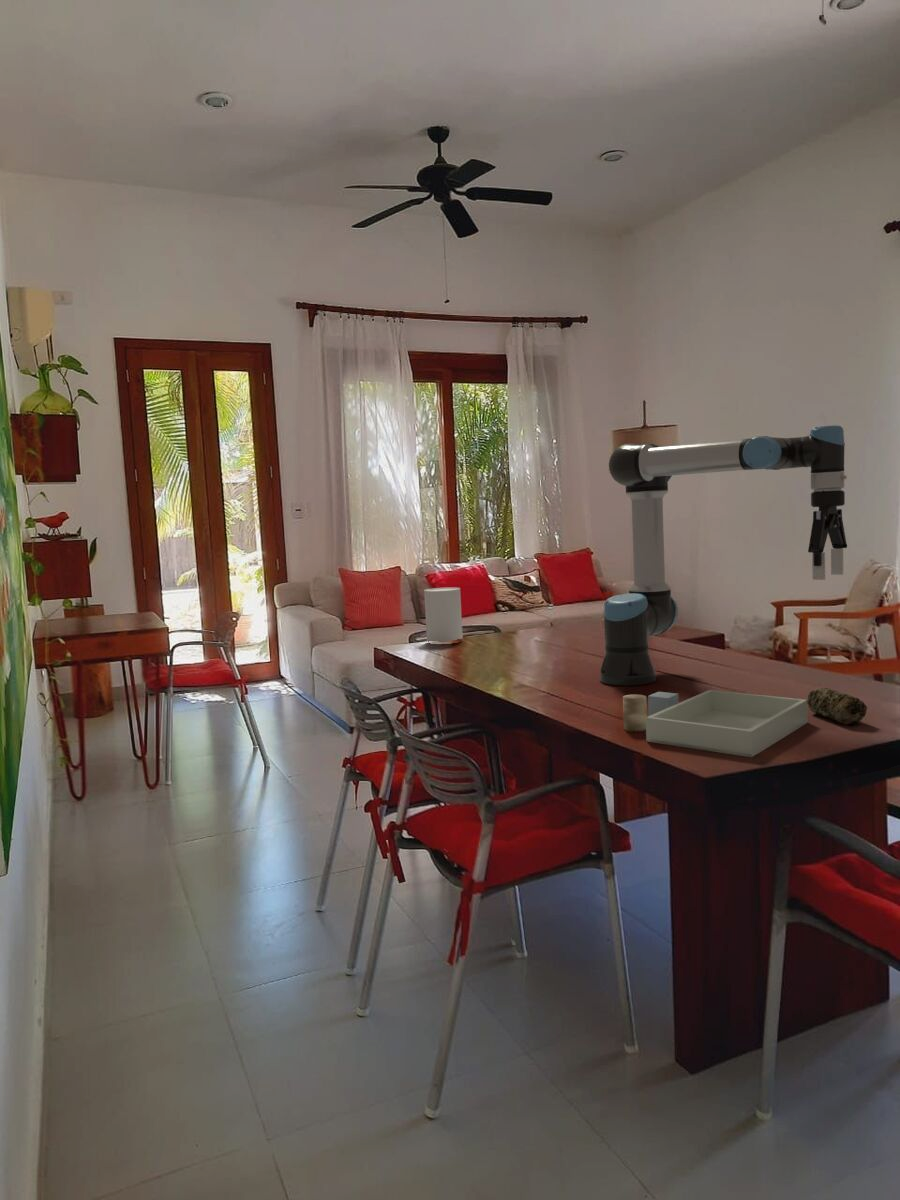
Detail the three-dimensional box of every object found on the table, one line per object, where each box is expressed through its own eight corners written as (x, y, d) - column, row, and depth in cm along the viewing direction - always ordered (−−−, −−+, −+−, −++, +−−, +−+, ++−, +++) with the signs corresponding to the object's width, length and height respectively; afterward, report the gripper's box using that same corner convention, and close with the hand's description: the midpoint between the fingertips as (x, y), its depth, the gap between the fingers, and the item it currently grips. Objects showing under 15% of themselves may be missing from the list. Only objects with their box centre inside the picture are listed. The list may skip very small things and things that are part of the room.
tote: (646, 741, 177) (645, 717, 177) (710, 711, 200) (709, 689, 199) (751, 757, 163) (751, 731, 162) (807, 722, 185) (807, 699, 185)
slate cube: (648, 717, 197) (648, 695, 197) (659, 712, 201) (658, 691, 201) (668, 720, 194) (668, 698, 194) (679, 715, 198) (678, 693, 197)
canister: (455, 645, 317) (452, 590, 315) (421, 644, 322) (418, 591, 320) (467, 639, 330) (465, 587, 328) (435, 639, 334) (432, 587, 332)
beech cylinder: (619, 729, 188) (618, 698, 187) (631, 724, 192) (630, 693, 191) (640, 732, 184) (639, 700, 184) (651, 727, 188) (650, 695, 187)
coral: (803, 713, 194) (803, 686, 193) (828, 710, 195) (828, 684, 194) (843, 728, 180) (843, 699, 179) (870, 726, 181) (870, 697, 180)
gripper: (826, 490, 199) (827, 582, 201) (859, 488, 218) (859, 572, 220) (793, 492, 204) (794, 581, 206) (828, 490, 223) (829, 572, 225)
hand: (828, 577), depth 213 cm, fingers open, 13 cm apart
